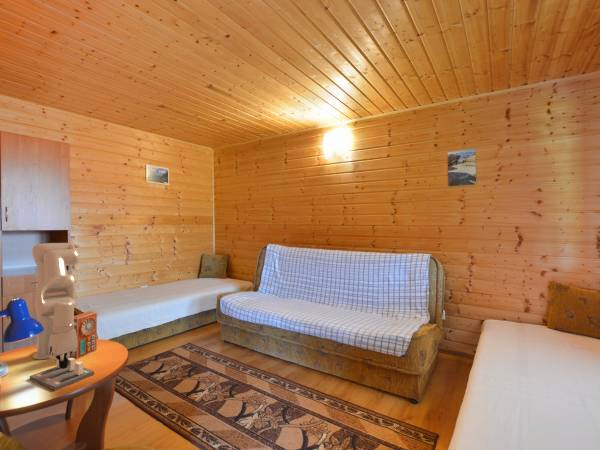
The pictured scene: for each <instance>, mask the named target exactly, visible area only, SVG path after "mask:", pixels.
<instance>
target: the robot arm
mask: <svg viewBox="0 0 600 450" xmlns="http://www.w3.org/2000/svg"><path fill="white" fill-rule="evenodd" d="M31 250H32V251H31V253H32V259H34V262H35V264H36V267H37V278H38V279H37V280H38V283H37V284H38V285H37V286H38V289H37V291H36V294H35V303H34V309H35V313H36V314H35V315H36V322H37V321H39V322H40V323H41V324H42V326H43V327H44V331H43V332H42V333H41V334H39V335H37V334H36V347H35V348H36V352H35V353H33V355H32V358H33V360H47V359H48V360H49V359H50V360H57V359H58V360H59V367H60V368H61V369H65V368H67V365H68V359H69V357H70V355H71V354H72V353H74V352H75V351H77V349H76V348H77V335H76V330H75V329H74V326H76V325H77V323H74V316H75V308H76V306H77V293H76V292H77V291H76V289H77V288H76V286H77V285H76V279H75V275H73V274H71V273H68V269H67V266H76V265H77V264H78V263H79V262H80V254H79V251H78V249H77V248H76V246H75V245H74V244H73V243H72V242H49V243H48V242H46V243H45V242H44V243H38V244H35V245H34V246H33V247H32V249H31ZM61 292H62V293H61ZM63 292H64V293H63ZM53 293H60V294H53ZM44 294H52V295H46V296H45V295H44Z"/></svg>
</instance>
